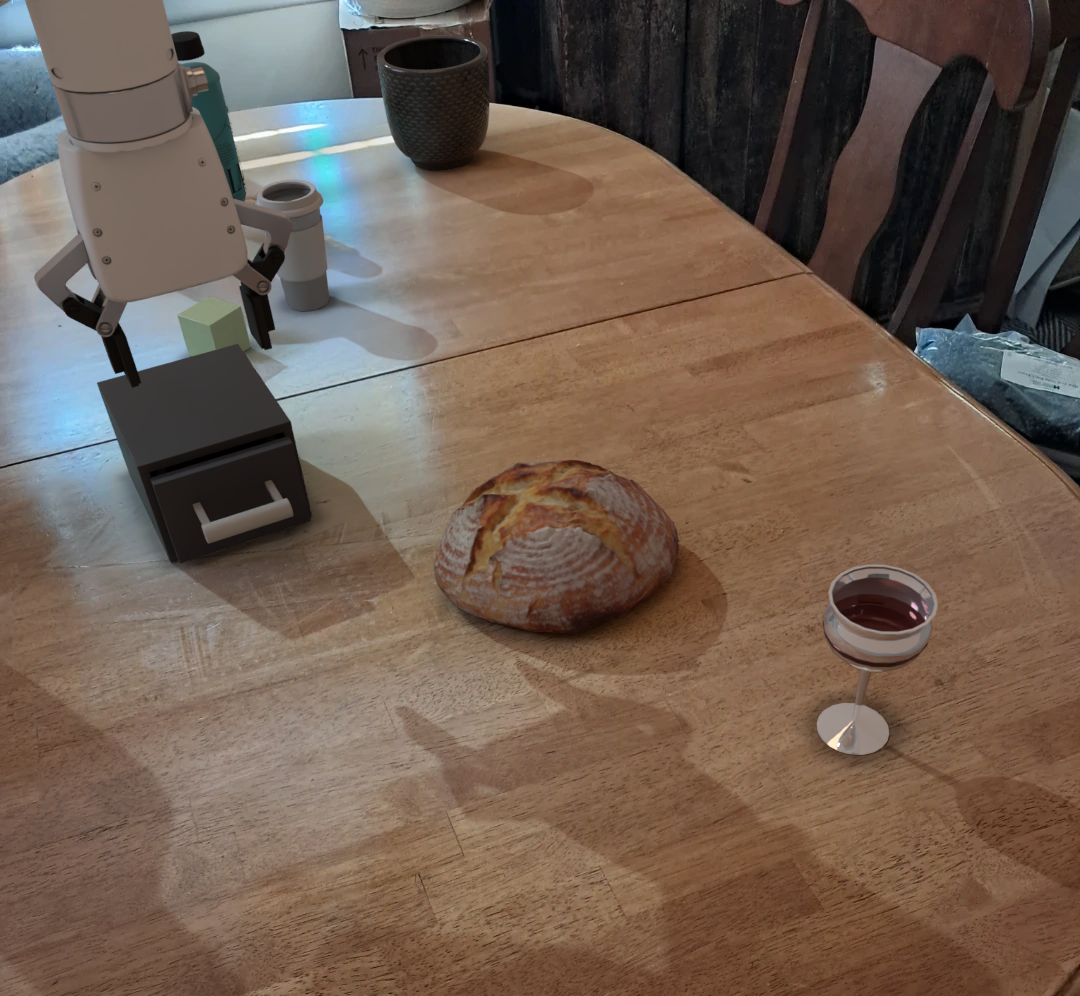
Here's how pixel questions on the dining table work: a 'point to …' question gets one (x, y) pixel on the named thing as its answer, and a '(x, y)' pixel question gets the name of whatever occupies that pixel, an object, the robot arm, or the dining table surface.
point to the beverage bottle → (213, 110)
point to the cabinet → (190, 418)
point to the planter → (436, 98)
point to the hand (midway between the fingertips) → (198, 359)
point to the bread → (555, 547)
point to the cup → (300, 242)
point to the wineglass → (872, 644)
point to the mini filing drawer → (231, 497)
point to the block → (213, 326)
